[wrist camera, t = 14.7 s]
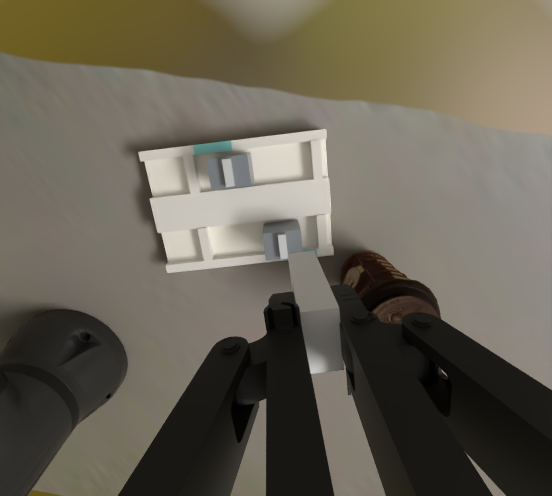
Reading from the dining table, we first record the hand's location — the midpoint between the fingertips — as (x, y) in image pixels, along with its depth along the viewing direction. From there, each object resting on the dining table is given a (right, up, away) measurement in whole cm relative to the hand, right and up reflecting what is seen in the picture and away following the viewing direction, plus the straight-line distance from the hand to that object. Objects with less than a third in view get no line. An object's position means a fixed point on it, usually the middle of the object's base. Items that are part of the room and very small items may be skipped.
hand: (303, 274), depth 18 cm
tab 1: (-6, +10, +17) cm, 21 cm away
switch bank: (-5, +7, +20) cm, 21 cm away
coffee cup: (+10, -2, +23) cm, 25 cm away
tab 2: (-1, +3, +19) cm, 19 cm away
